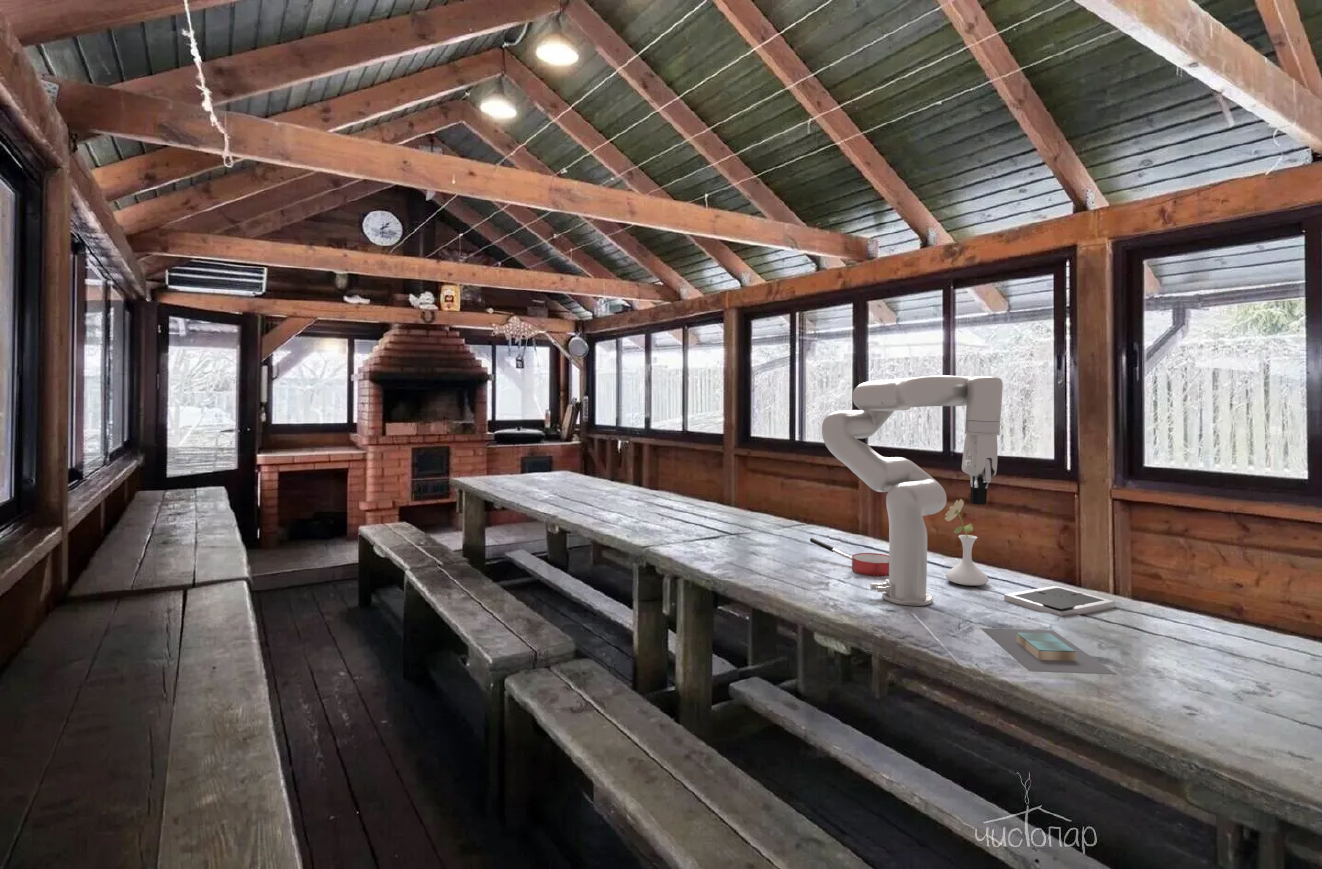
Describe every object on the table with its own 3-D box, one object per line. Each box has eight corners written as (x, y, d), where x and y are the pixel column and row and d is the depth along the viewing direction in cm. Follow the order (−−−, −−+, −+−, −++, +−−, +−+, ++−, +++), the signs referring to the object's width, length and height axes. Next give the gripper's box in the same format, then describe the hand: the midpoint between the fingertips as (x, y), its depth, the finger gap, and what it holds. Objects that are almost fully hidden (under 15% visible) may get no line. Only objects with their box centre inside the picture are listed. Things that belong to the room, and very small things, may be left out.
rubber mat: (1029, 673, 126) (1029, 670, 126) (980, 630, 150) (980, 627, 150) (1116, 676, 124) (1116, 673, 124) (1052, 632, 148) (1052, 630, 148)
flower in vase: (967, 576, 196) (969, 494, 195) (997, 586, 185) (999, 500, 184) (932, 580, 192) (933, 496, 191) (961, 591, 181) (963, 502, 180)
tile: (1016, 641, 141) (1038, 659, 131) (1016, 632, 141) (1039, 649, 131) (1049, 642, 141) (1075, 660, 131) (1050, 633, 141) (1075, 651, 131)
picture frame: (1061, 620, 158) (1114, 609, 167) (1061, 608, 158) (1114, 598, 167) (1004, 602, 173) (1055, 592, 181) (1004, 591, 173) (1056, 582, 181)
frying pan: (794, 559, 217) (794, 541, 217) (817, 553, 226) (818, 535, 226) (881, 579, 193) (881, 558, 193) (903, 572, 202) (904, 551, 201)
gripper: (955, 426, 163) (951, 497, 164) (977, 430, 148) (973, 509, 149) (986, 426, 162) (982, 499, 163) (1012, 430, 147) (1007, 510, 149)
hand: (978, 503), depth 156 cm, fingers closed
